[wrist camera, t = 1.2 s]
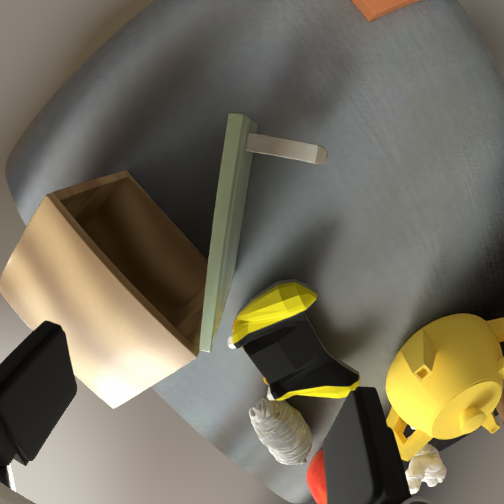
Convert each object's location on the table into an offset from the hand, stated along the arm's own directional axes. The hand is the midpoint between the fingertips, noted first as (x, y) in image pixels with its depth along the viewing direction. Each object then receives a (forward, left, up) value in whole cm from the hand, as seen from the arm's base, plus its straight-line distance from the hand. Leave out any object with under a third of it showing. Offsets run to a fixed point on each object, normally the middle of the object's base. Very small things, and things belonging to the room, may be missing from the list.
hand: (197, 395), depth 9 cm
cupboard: (+4, -12, -22) cm, 25 cm away
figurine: (+33, +24, -22) cm, 46 cm away
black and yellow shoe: (+13, +4, -22) cm, 26 cm away
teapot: (+17, +23, -22) cm, 36 cm away
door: (-1, +2, -22) cm, 22 cm away
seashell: (+27, +4, -22) cm, 35 cm away
